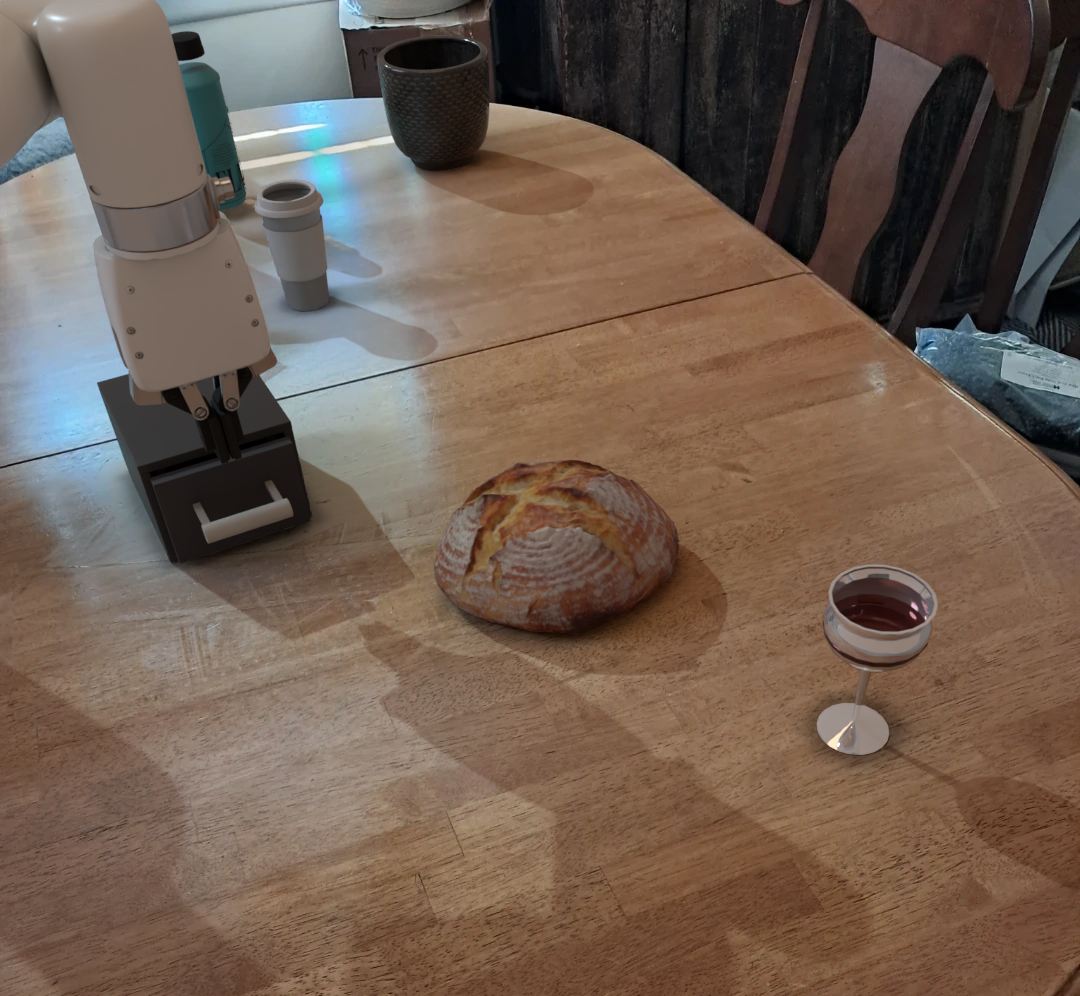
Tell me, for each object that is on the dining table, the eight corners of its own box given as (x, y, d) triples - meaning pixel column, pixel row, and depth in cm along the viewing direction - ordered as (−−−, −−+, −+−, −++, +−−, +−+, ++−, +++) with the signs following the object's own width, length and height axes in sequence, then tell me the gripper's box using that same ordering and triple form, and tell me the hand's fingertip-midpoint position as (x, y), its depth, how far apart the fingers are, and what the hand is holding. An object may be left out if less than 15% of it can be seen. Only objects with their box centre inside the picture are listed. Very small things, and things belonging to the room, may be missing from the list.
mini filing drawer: (330, 551, 95) (312, 472, 90) (195, 596, 92) (168, 517, 86) (262, 444, 107) (243, 368, 101) (141, 481, 103) (113, 404, 98)
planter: (516, 156, 153) (510, 48, 144) (440, 190, 147) (428, 79, 137) (444, 131, 160) (435, 27, 151) (368, 163, 153) (353, 56, 144)
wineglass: (903, 700, 82) (938, 570, 73) (901, 771, 78) (939, 641, 69) (807, 688, 83) (830, 558, 75) (800, 757, 79) (824, 627, 70)
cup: (277, 319, 125) (252, 208, 116) (274, 291, 129) (250, 182, 121) (343, 310, 126) (323, 199, 117) (337, 283, 130) (318, 174, 121)
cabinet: (312, 517, 100) (290, 421, 93) (171, 563, 97) (136, 467, 90) (261, 436, 109) (237, 343, 102) (130, 476, 106) (96, 382, 99)
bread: (411, 563, 97) (392, 458, 90) (619, 496, 102) (616, 392, 95) (486, 675, 86) (471, 566, 79) (715, 594, 91) (720, 485, 84)
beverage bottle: (226, 227, 142) (182, 47, 127) (187, 216, 144) (140, 39, 130) (262, 207, 145) (223, 29, 131) (223, 197, 148) (182, 22, 133)
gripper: (249, 168, 80) (302, 402, 93) (31, 220, 76) (119, 458, 89) (283, 206, 75) (334, 447, 88) (53, 264, 71) (143, 508, 84)
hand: (226, 452), depth 89 cm, fingers closed
